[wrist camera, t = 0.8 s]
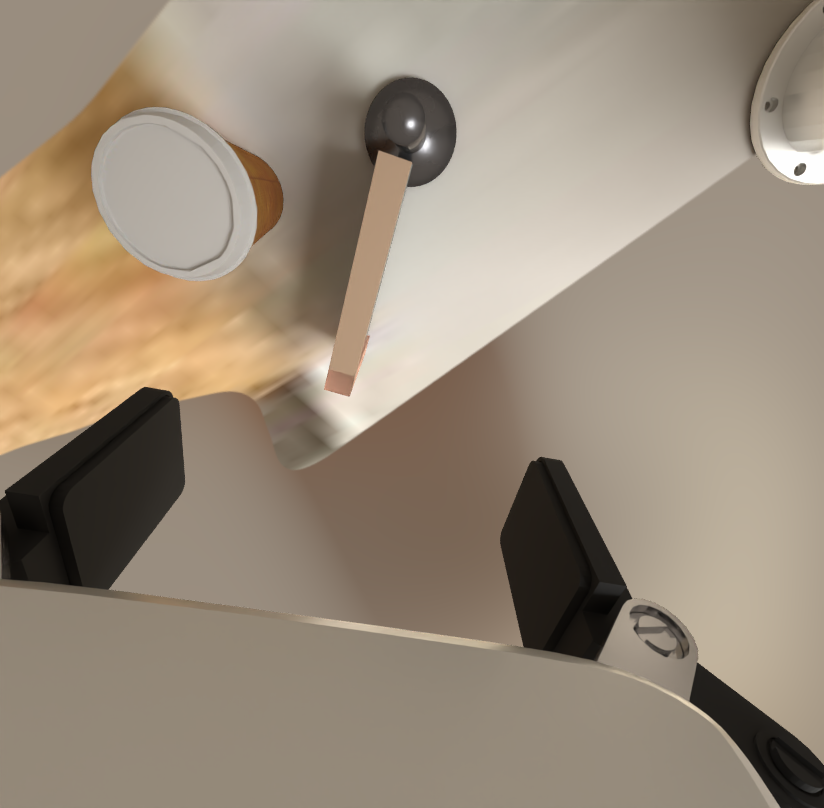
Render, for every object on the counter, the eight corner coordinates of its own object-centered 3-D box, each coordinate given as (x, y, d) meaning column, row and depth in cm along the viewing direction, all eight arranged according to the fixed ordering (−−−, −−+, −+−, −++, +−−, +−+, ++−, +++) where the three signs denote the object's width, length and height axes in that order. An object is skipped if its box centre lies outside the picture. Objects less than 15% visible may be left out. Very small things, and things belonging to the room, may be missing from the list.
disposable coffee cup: (195, 245, 37) (102, 273, 26) (182, 117, 32) (63, 89, 22) (301, 262, 37) (252, 296, 27) (304, 138, 33) (244, 119, 22)
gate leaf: (391, 156, 32) (378, 150, 24) (415, 165, 32) (411, 162, 24) (344, 347, 40) (324, 389, 32) (365, 353, 40) (349, 396, 32)
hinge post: (379, 65, 30) (355, 13, 21) (469, 99, 31) (487, 64, 22) (356, 170, 34) (328, 167, 24) (438, 198, 34) (442, 207, 25)
